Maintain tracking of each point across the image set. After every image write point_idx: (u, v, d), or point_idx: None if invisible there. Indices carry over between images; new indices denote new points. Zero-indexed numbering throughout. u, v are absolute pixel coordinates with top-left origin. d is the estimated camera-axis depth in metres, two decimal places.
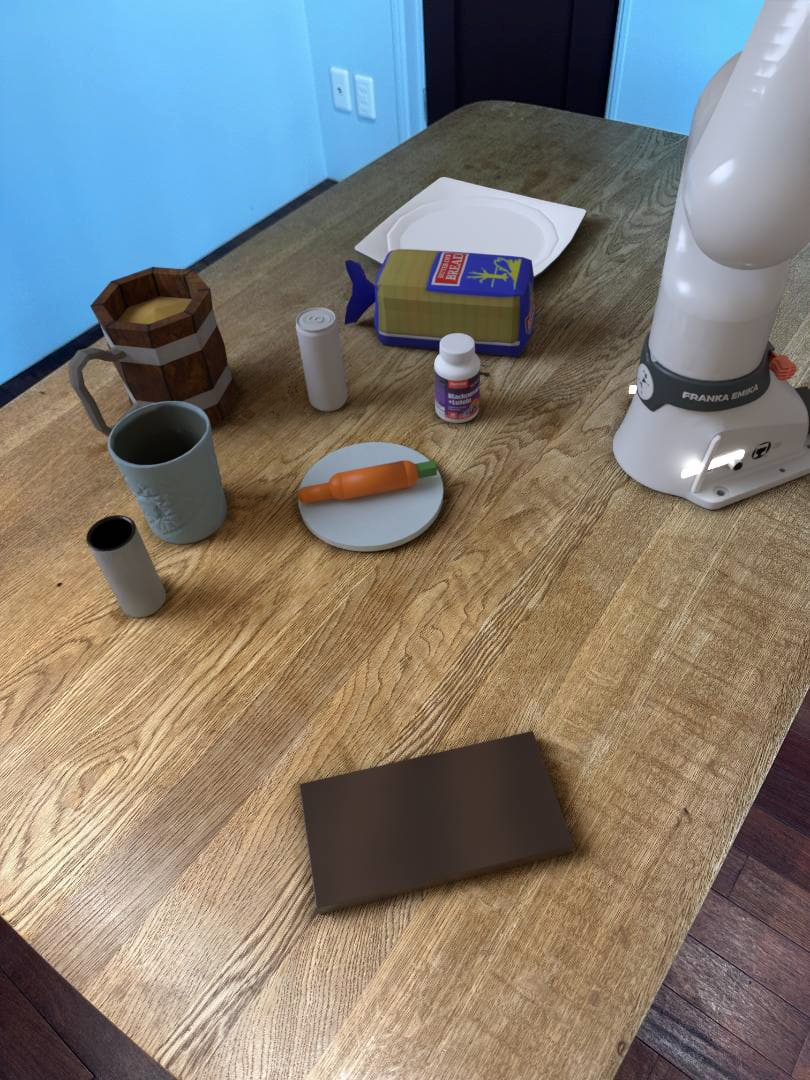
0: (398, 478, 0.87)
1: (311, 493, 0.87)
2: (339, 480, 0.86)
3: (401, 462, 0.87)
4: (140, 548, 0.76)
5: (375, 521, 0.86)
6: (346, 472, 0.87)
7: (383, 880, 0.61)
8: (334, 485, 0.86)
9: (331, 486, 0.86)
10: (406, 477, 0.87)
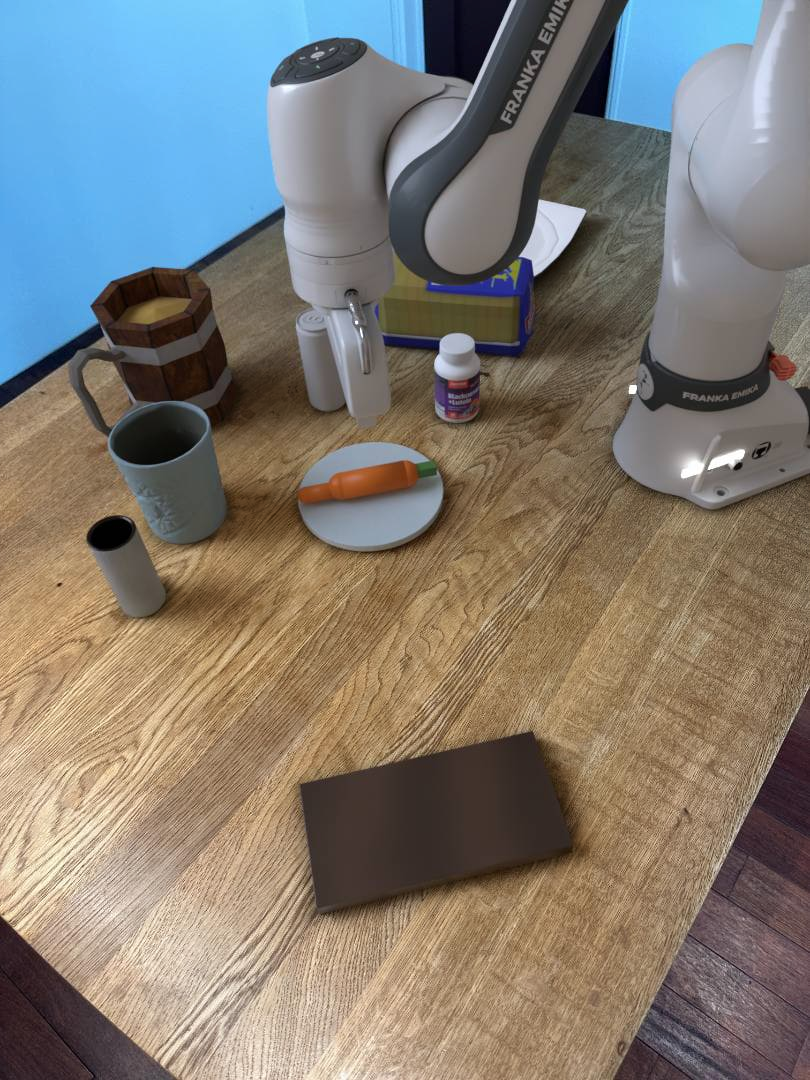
0: (398, 478, 0.87)
1: (311, 493, 0.87)
2: (339, 480, 0.86)
3: (401, 462, 0.87)
4: (140, 548, 0.76)
5: (375, 521, 0.86)
6: (346, 472, 0.87)
7: (383, 880, 0.61)
8: (334, 485, 0.86)
9: (331, 486, 0.86)
10: (406, 477, 0.87)
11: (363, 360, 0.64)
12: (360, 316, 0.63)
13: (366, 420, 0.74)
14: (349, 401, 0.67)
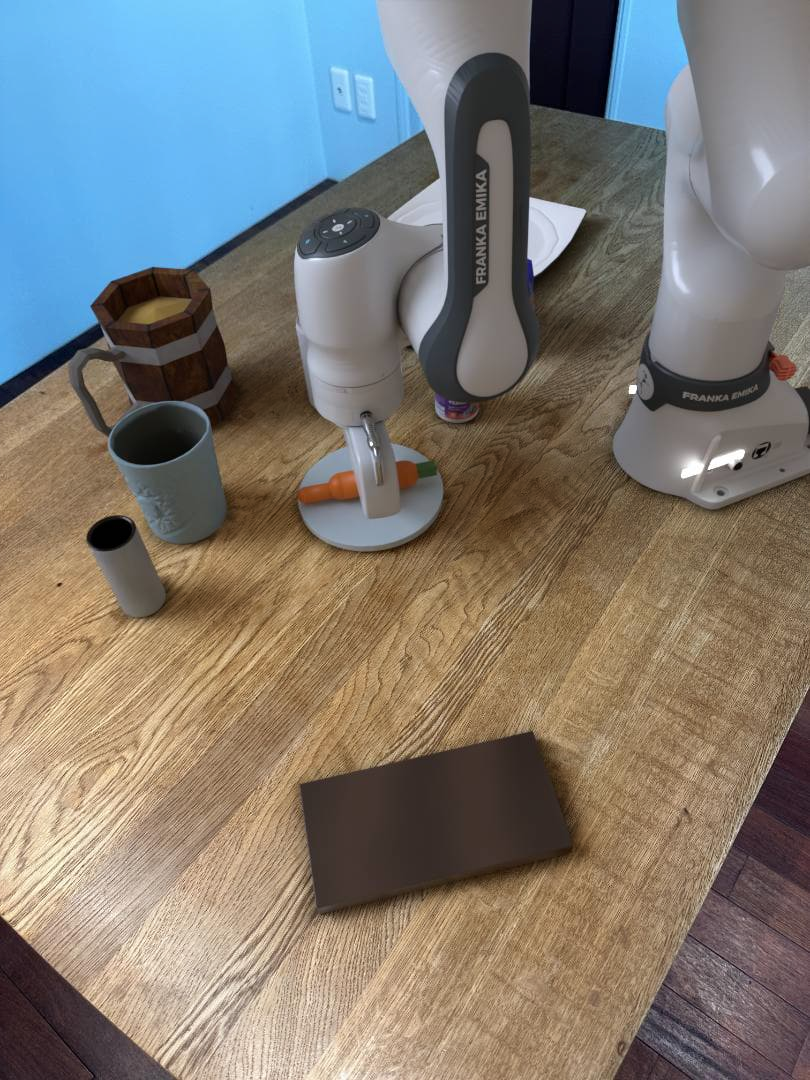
0: (398, 478, 0.87)
1: (311, 493, 0.87)
2: (339, 480, 0.86)
3: (401, 462, 0.87)
4: (140, 548, 0.76)
5: (375, 521, 0.86)
6: (346, 472, 0.87)
7: (383, 880, 0.61)
8: (334, 485, 0.86)
9: (331, 486, 0.86)
10: (406, 477, 0.87)
11: (377, 476, 0.73)
12: (374, 439, 0.73)
13: None
14: (364, 507, 0.77)
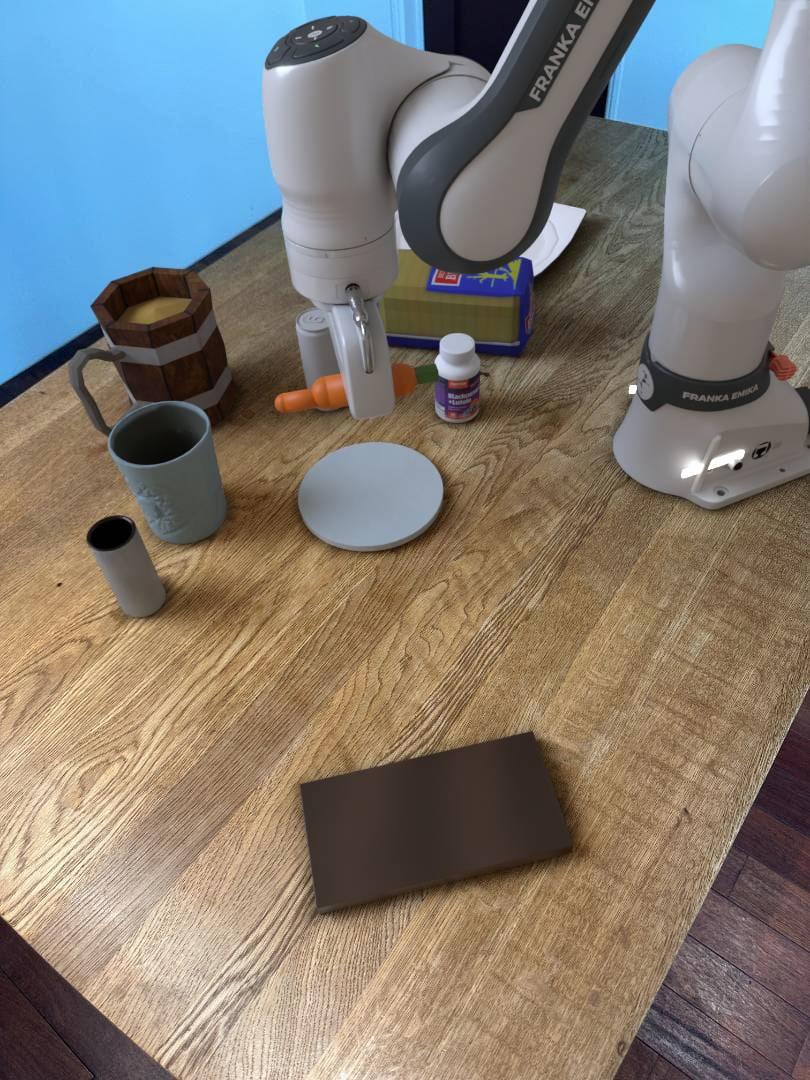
0: (393, 382, 0.74)
1: (291, 400, 0.74)
2: (323, 384, 0.73)
3: (396, 365, 0.74)
4: (140, 548, 0.76)
5: (375, 521, 0.86)
6: (332, 375, 0.74)
7: (383, 880, 0.61)
8: (318, 390, 0.73)
9: (314, 391, 0.74)
10: (402, 381, 0.74)
11: (365, 359, 0.60)
12: (361, 312, 0.60)
13: None
14: (351, 402, 0.64)
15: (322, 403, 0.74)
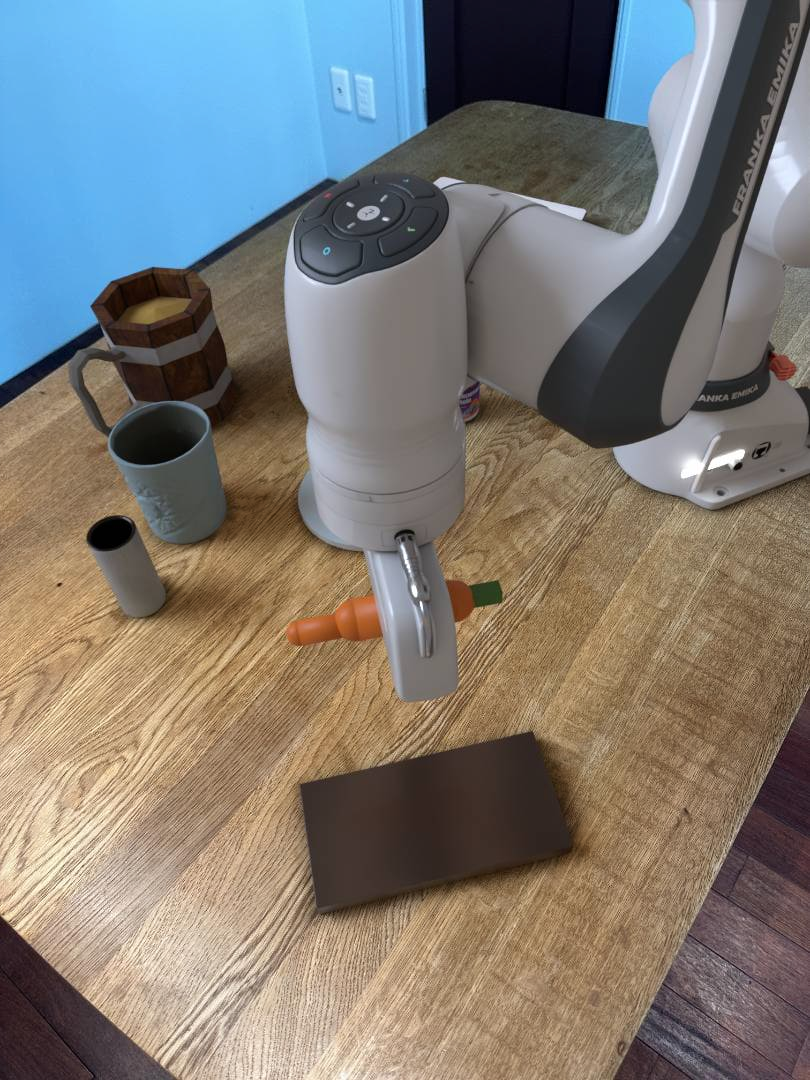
0: None
1: (308, 632, 0.55)
2: (352, 613, 0.55)
3: (448, 585, 0.56)
4: (140, 548, 0.76)
5: None
6: (363, 599, 0.56)
7: (383, 880, 0.61)
8: (344, 621, 0.55)
9: (339, 622, 0.55)
10: (456, 609, 0.56)
11: (424, 648, 0.42)
12: (421, 585, 0.42)
13: None
14: (398, 687, 0.46)
15: (349, 637, 0.56)
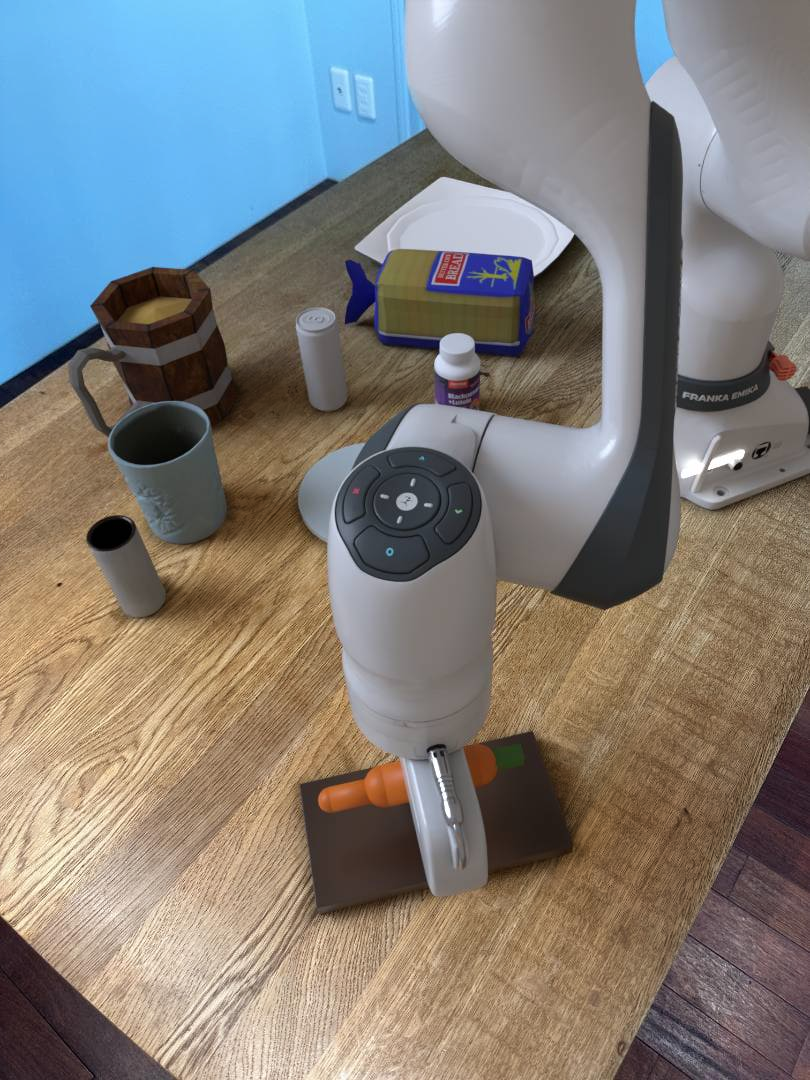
0: None
1: (339, 801, 0.58)
2: (381, 783, 0.58)
3: (472, 752, 0.59)
4: (140, 548, 0.76)
5: None
6: (391, 768, 0.58)
7: (383, 880, 0.61)
8: (374, 791, 0.58)
9: (369, 791, 0.58)
10: (480, 776, 0.58)
11: (458, 865, 0.45)
12: (454, 808, 0.44)
13: None
14: (431, 886, 0.48)
15: (379, 805, 0.58)
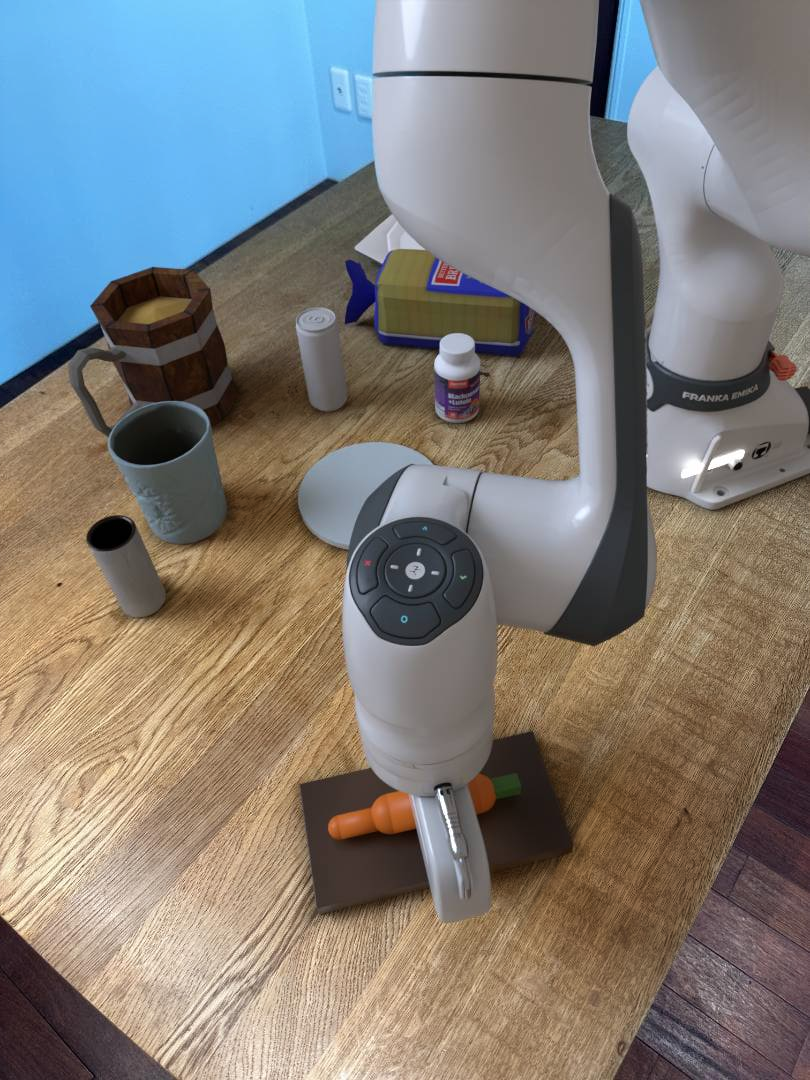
0: None
1: (348, 828, 0.62)
2: (387, 811, 0.62)
3: (472, 780, 0.63)
4: (140, 548, 0.76)
5: None
6: (396, 796, 0.62)
7: (383, 880, 0.61)
8: (380, 818, 0.62)
9: (375, 818, 0.62)
10: (480, 804, 0.62)
11: (463, 895, 0.48)
12: (460, 844, 0.48)
13: None
14: (439, 913, 0.52)
15: (385, 831, 0.62)
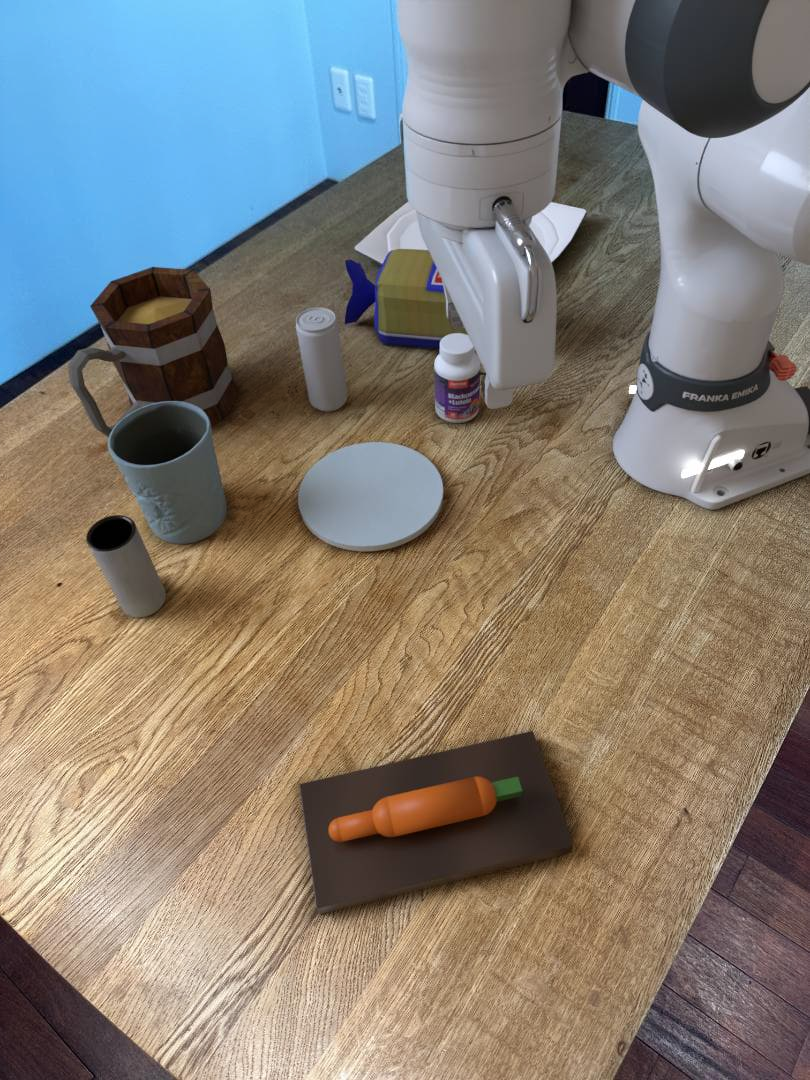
0: (470, 811, 0.62)
1: (348, 832, 0.62)
2: (388, 817, 0.61)
3: (473, 786, 0.63)
4: (140, 548, 0.76)
5: (375, 521, 0.86)
6: (397, 802, 0.62)
7: (383, 880, 0.61)
8: (381, 823, 0.62)
9: (376, 823, 0.62)
10: (481, 809, 0.62)
11: (529, 300, 0.42)
12: (526, 232, 0.42)
13: (500, 396, 0.53)
14: (496, 364, 0.46)
15: (386, 835, 0.62)
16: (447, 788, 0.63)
